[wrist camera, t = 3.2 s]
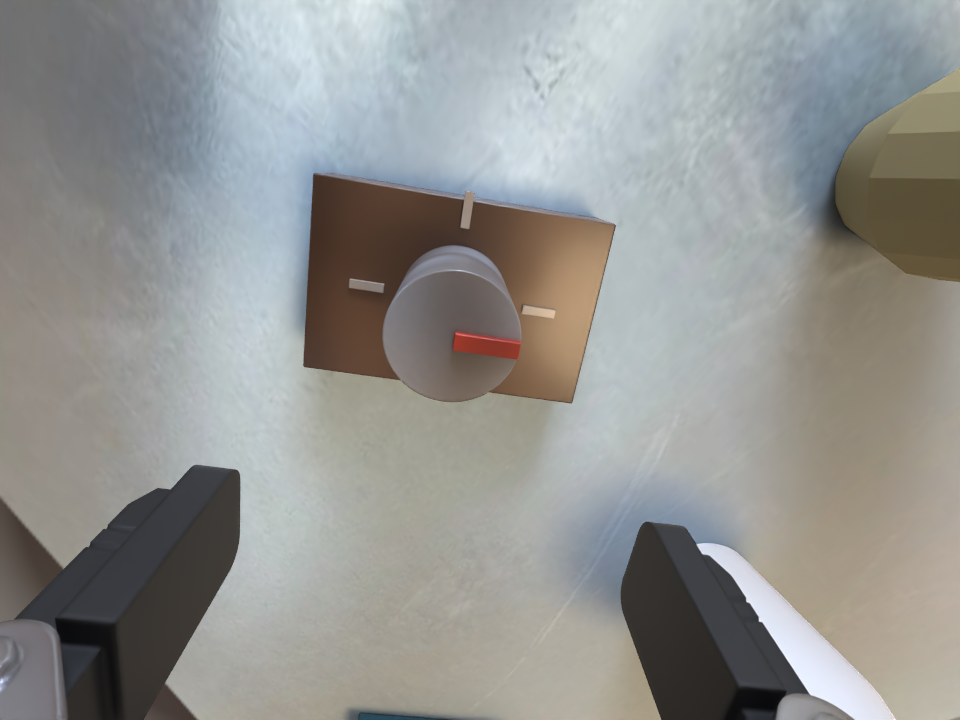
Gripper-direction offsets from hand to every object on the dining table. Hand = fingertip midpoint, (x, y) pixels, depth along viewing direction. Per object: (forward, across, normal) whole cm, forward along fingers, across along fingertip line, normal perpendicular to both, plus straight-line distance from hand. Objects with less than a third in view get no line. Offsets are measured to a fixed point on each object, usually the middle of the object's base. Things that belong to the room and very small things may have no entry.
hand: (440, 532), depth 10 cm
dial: (+13, 0, -2) cm, 13 cm away
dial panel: (+16, 0, -2) cm, 16 cm away
